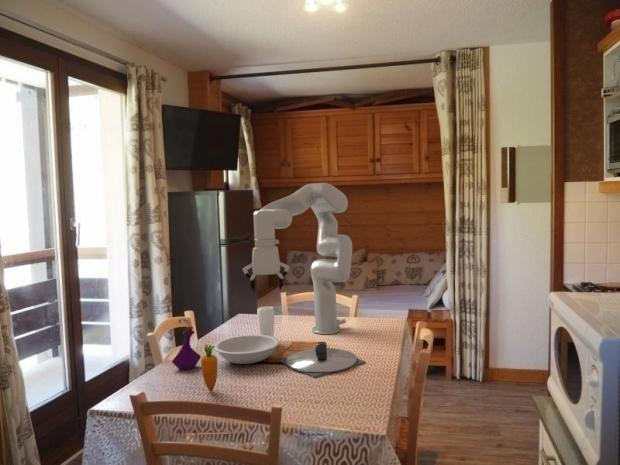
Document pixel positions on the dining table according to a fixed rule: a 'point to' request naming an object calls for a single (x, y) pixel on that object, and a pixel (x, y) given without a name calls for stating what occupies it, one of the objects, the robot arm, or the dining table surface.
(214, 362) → the carrot
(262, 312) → the drinking glass
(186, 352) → the perfume bottle
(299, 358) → the lid
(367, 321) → the dining table surface
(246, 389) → the dining table surface
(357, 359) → the mat
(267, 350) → the soup bowl
